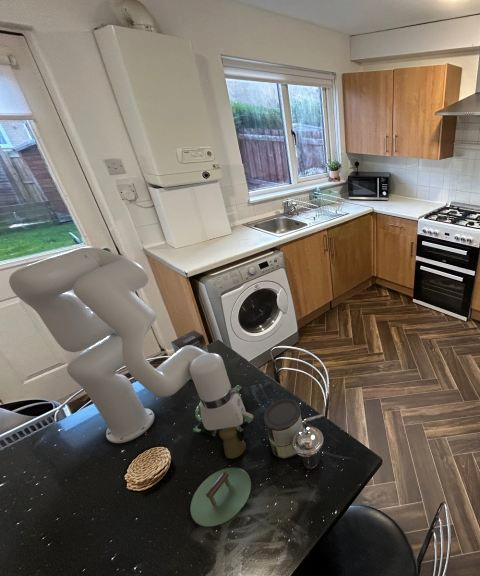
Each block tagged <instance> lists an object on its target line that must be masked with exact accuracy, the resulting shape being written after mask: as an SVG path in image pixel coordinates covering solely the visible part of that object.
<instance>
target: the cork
mask: <svg viewBox="0 0 480 576" xmlns="http://www.w3.org/2000/svg"><path fill="white" fill-rule="evenodd" d="M237 432H238V429H237V428H236V427H229V428H223V429H220V430H219V435H220V437H221V438H222V439H223V440H222V443H223V449H224V455H225V457H226V458H227V459H236V458H238V457H240V456H242V455H243V453H244V452H245V450H246V447H247V445H246V442H245V441H244V439H243V441H240V440H239V437H238V434H237Z"/></svg>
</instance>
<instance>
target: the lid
mask: <svg viewBox="0 0 480 576" xmlns="http://www.w3.org/2000/svg"><path fill="white" fill-rule="evenodd" d="M251 491H252V481H251V478H250V475H249V473H248V472H246V471H245V470H244V469H242V468H240V467H227V468H223V469H220V470H218V471H216V472H214V473H212V474H210V475H209V476H208V477H207V478H206V479H205V480H203V481H202V482H201V484H200V485H199V486H198V487H197V489H196V491H195V492H194V494H193V496H192V499H191V502H190V507H189V510H190V515H191V518H192V520H193V521H194V522H195V523H196V525H199V526H200V527H204V528H214V527H219V526H221V525H223V524H225V523H227V522H229V521H230V520H233V518H235V517H236V516H237V515H238V514H239V513H240V512H241V511H242V510H243V508H244V507H245V505H246V504H247V502H248V500H249V498H250V496H251Z"/></svg>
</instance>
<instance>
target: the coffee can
mask: <svg viewBox="0 0 480 576" xmlns="http://www.w3.org/2000/svg"><path fill="white" fill-rule="evenodd" d="M301 411H302V410H301V406H300V404H299V403H298V402H297V401H296V400H294V399H290V398H283V399H280V400H277V401H275V402H272V403H271V404H270V405H269V406H268V407H267V409H266V410H265V412H264V414H263V423H264V424H265V429H266V433H267V436H268V439H269V444H270V447H271V451H272V453H273V454H274V455H275V456H276V457H277V458H282V459H287V458H291V457H293V456H296V455H298V454H297V453H296V452H295V451H294V449H293V446H292V444H293V439H294V437H295V435H296V434H297V433H298V432H299V431H300V430H301V429H302V428H304V424H303V418H302V414H301Z"/></svg>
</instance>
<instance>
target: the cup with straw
mask: <svg viewBox="0 0 480 576" xmlns="http://www.w3.org/2000/svg"><path fill="white" fill-rule="evenodd" d="M324 417H325V414H324V413H321V414H317V415H314V416H310V417H307V418H305V419H303V420H302V424H303V428H302V429H301V430H300V431H299V432H298V433H297V434H296V435H295V437H294V439H293V444H292V446H293V449H294V451H295V452H296V453H297V454H296V455H299V458H300V460H301V463H302V464H303V466H304V467H305V468H306V469H313V468H315V467H317V466H318V464H319V462H320V454H321V448H322V446H323V444H324V435H323V433H322V431H321V430H320V429H319V428H317V427H315V426H311V425H308V426H307V422H309V421H313V420H317V419H320V418H324Z"/></svg>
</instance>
